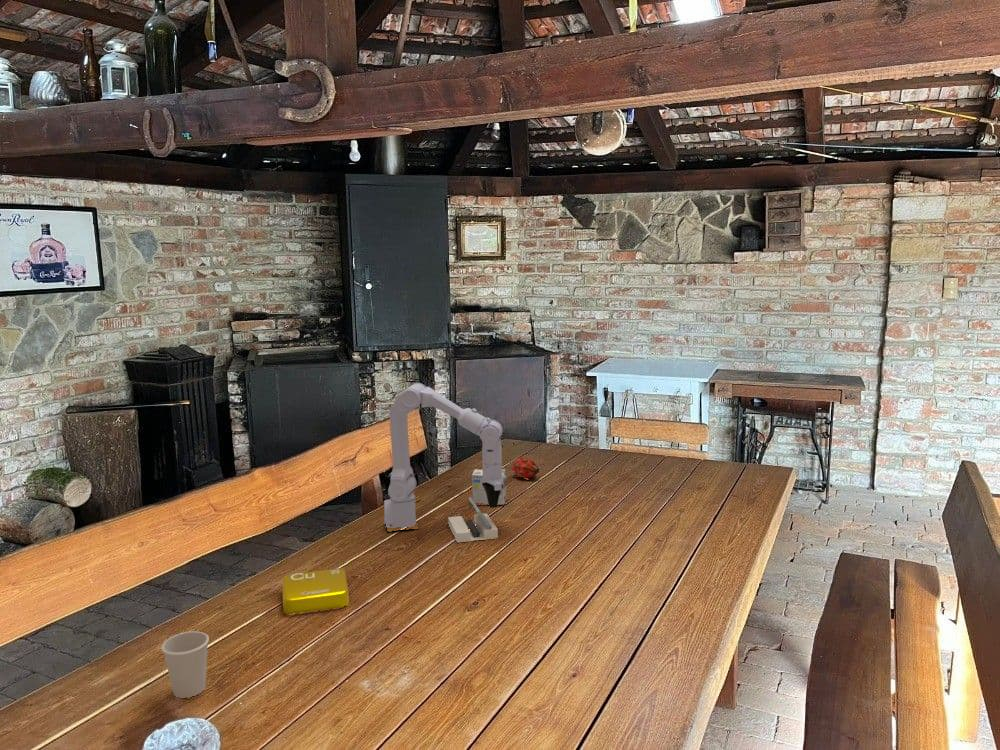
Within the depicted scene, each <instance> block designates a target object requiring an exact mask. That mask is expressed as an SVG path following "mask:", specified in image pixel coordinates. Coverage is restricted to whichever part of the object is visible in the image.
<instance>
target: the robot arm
mask: <svg viewBox="0 0 1000 750" xmlns="http://www.w3.org/2000/svg"><path fill="white" fill-rule="evenodd" d="M420 405H421V408H423V409H424V408H431V407H434V408H435V409H438V410H439V411H441V412H442V413H445V414H447V415H449V416H451V417H452V418H455V419H456V420H457V423H458V425H459V426H461V427H462V428H464V429H465V430H468V431H469V432H471V433H472V434H474V435H476V436H479V438H480V440H481V441H482V442H481V443H482V447H481V452H482V453H481V455H482V456H481V458H482V459H481V460H482V463H481V464H482V465H481V466H482V470H483V476H482V480H483V481H485V483H482V485H483V487H484V489H485V492H486V495H487V500H488V504H489V508H490V509H492V508H497V507H498V506H497V505H498V500H499V495H500V493H501V490H502V489H503V485H502V480H503V479H507V476H506V474H505V475H502V470H503V460H502V459H503V457H502V453H503V451H502V439H501V437H502V434H503V426H502V424H500V422H498V420H496V419H491V418H490V417H486V416H484V415H482V414H480V413H478V412H477V409H476V408H475V407H474V408H469V407H467V408H462V407H460V405H457V404H456V403H454V402H453V401H451V400H449V399H448V398H447V397H445V396H443V395H441V394H440V393H438V392H437V391H436V390H434V389H433V388H432V387H430V386H426V385H425V384H423V383H421V382H414V383H412V384H411V385H410V386H409V387H407V388H404V389H403V390H402V391H400V393H398V394H397V395H396V398H395V401H394V402H393V404H392V406H391V407H390V409H389V426H390V427H389V429H390V445H391V458H392V461H391V462H392V470H391V475H390V483H389V486H388V489H387V493H388V496H389V499H385V500H384V501H383V506H384V507H383V508H384V509H383V510H384V513H383V514H384V518H383V520H384V521H383V523H384V525H385V524H386V526H385V528H386V527H387V528H396V527H401V528H402V527H411V526H413V525H415V524H416V522H417V520H416V519H417V517H416V495H415V493H414V490H415V489H416V487H417V480H416V477H415V476H414V473H413V467H412V466H411V461H410V460H411V459H410V458H411V457H410V442H409V440H410V439H409V425H408V415H409V414H410V413H411V412H412V411H413V410H414V409H415V410H416V408H418V407H419V406H420ZM390 524H392V526H390Z"/></svg>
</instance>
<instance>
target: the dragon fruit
mask: <svg viewBox="0 0 1000 750" xmlns="http://www.w3.org/2000/svg"><path fill="white" fill-rule="evenodd" d="M512 463H513V465H512V466H511V468H510V470H511V471H512V472H514V476H515V477H516V476H517V477H518V476H520V478H521V477H524V478H528V477H529V478H536V477H537V475H538V473H539V471H540V468H539V467H538V465H537V464H536V462H534V460H533V461H532V460H531V459H530V458H529V457H526V456H521V457H517V458H516V459H515V460H514V462H512ZM518 478H519V477H518ZM529 478H528V479H529Z"/></svg>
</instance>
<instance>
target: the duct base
mask: <svg viewBox="0 0 1000 750" xmlns="http://www.w3.org/2000/svg"><path fill="white" fill-rule="evenodd" d="M483 515H484V516H485V518H486V519H487V521H488V522H489V524H490V525H491V527H492V528H491V529H489V528H488V527H487V525H486V524H485V522H484V521H483V520H482V518H481V517H480V515H479V514H478V513H477V514H474V515H473V523H474V522H475V524H476V526H477V529H478V531H479V532H480V536H479V537H474V536H473V534H471V533H472V532H470V530H469V529H468V527H467V525H466V522H465V520H464V518H463V517H462V515H458V516H457V515H456V516H448V518H447V519H448V520H447V523H448V524H449V526H448V528H449V527H450V529H451V531H452V533H453V535H454V537H455V539H456V541H457V542H466V541H474V540H486V539H494V538H498V539H499V530H498V527H497V526H496V525H495V523H494V521H493V520H492V519H491V518H490V516H489V515H488V513H483ZM450 529H449V530H450ZM451 531H450V532H451ZM452 533H451V534H452ZM453 535H452V536H453ZM454 537H453V538H454ZM455 539H454V540H455ZM456 541H455V542H456ZM486 541H487V540H486Z"/></svg>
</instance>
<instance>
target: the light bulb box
mask: <svg viewBox="0 0 1000 750" xmlns="http://www.w3.org/2000/svg"><path fill="white" fill-rule="evenodd" d="M471 474H472V475H471V484H472V485H471V487H472V488H471V489H472V500H473V501H474V503H484V504H488V500H487V495H486V492H485V489H484V487H483V485H482V483H485V481H483V480H482V476H483V469H478V468H477V469H474V471H473V472H472V473H471ZM502 475H505V476H506V469H505V468H504V469H503V468H502ZM506 479H507V478H506ZM506 479H503V480H502V485H503V489H502V490H501V493H500V495H499V500H498V504H505V505H506V502H507V484H506V483H507V481H506ZM505 501H506V502H505Z"/></svg>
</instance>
